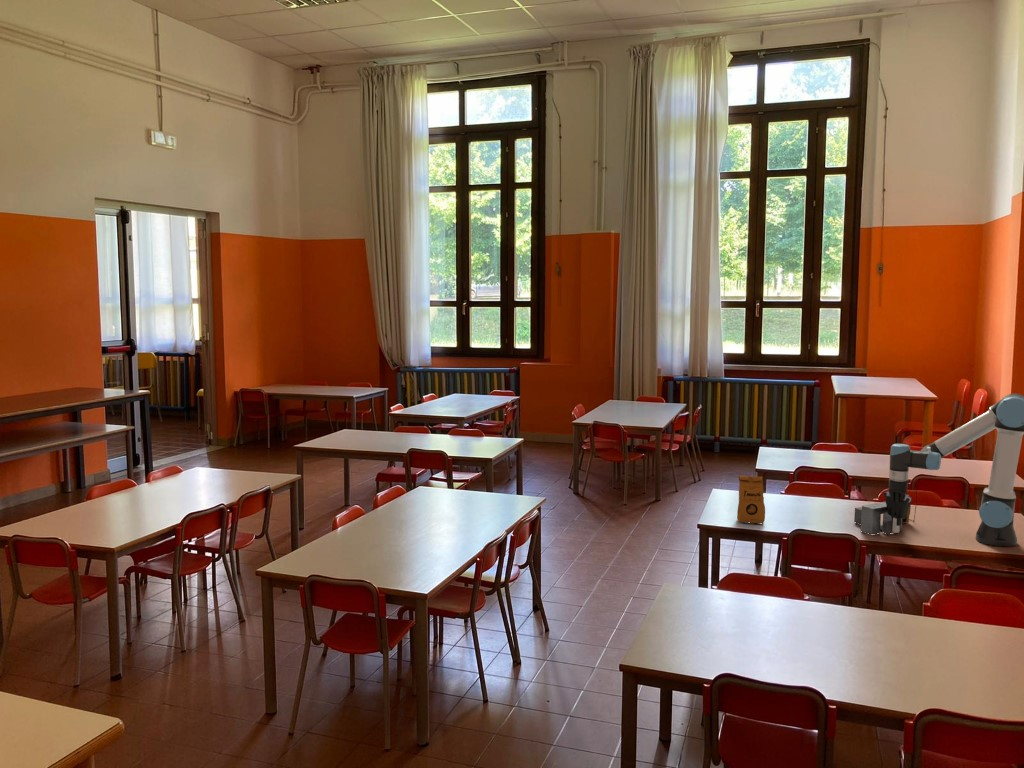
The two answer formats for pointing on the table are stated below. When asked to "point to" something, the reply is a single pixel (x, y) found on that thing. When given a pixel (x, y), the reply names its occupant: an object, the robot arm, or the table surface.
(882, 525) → the plug
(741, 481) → the coffee package
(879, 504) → the housing
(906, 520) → the multimeter
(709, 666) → the table surface
